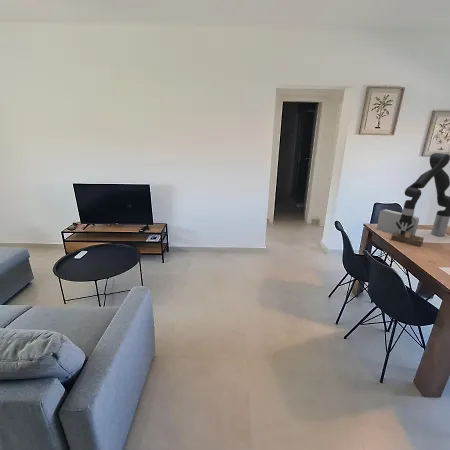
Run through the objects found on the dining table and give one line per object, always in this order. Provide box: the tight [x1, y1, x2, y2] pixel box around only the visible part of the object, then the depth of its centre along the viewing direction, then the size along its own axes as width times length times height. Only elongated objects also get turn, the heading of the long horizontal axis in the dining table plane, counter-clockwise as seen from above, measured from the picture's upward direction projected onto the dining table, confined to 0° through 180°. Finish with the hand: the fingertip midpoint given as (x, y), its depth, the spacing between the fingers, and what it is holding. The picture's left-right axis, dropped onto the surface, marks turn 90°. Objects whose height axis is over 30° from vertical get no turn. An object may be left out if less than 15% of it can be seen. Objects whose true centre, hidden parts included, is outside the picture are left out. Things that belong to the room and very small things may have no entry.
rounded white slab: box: [376, 209, 420, 236], centre depth 235 cm, size 29×8×18 cm, turn 36°
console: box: [390, 231, 425, 248], centre depth 220 cm, size 12×20×4 cm, turn 49°
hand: (402, 234), depth 219 cm, fingers closed
